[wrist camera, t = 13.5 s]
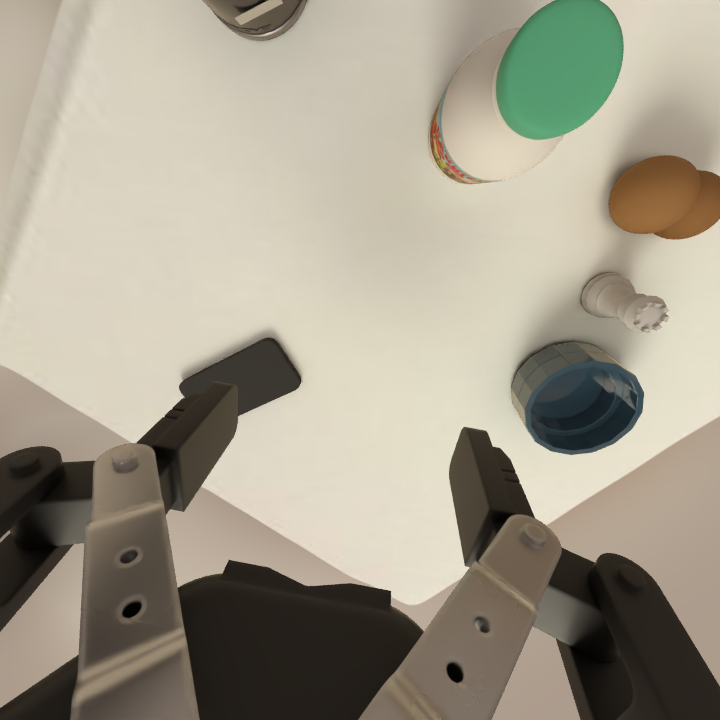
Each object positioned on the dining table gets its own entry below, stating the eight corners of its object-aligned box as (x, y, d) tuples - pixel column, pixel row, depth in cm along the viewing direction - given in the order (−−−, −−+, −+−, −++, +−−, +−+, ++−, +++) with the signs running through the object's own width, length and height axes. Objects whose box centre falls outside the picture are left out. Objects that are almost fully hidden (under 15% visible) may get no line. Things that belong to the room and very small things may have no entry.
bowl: (529, 332, 39) (548, 352, 34) (631, 349, 39) (665, 372, 34) (497, 415, 44) (510, 444, 39) (588, 432, 44) (612, 462, 39)
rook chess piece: (635, 278, 36) (695, 299, 29) (611, 318, 38) (661, 348, 31) (593, 266, 36) (642, 285, 29) (570, 308, 38) (611, 335, 31)
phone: (303, 386, 44) (210, 429, 48) (305, 383, 45) (213, 425, 49) (270, 336, 42) (174, 385, 46) (272, 333, 42) (178, 382, 46)
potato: (613, 153, 32) (657, 145, 26) (712, 169, 32) (778, 165, 26) (584, 224, 34) (619, 230, 29) (676, 240, 34) (728, 249, 29)
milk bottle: (452, 67, 30) (534, -115, 12) (533, 106, 31) (725, -13, 13) (413, 164, 34) (431, 133, 16) (487, 198, 34) (587, 205, 16)
